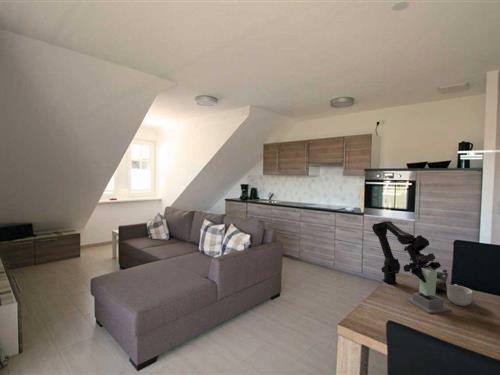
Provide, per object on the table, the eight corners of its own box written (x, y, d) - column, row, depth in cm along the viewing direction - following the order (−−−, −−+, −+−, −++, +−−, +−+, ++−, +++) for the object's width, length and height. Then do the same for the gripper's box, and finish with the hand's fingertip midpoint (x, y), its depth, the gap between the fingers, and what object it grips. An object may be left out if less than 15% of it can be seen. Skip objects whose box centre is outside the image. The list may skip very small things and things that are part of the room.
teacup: (472, 310, 136) (473, 295, 135) (445, 303, 142) (446, 289, 141) (470, 299, 147) (471, 286, 146) (446, 294, 153) (447, 280, 153)
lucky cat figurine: (415, 283, 167) (420, 262, 170) (432, 291, 167) (437, 270, 170) (433, 287, 152) (438, 264, 155) (452, 295, 152) (457, 272, 155)
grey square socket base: (406, 300, 145) (406, 291, 145) (426, 297, 149) (426, 288, 148) (429, 313, 132) (429, 304, 132) (450, 310, 135) (451, 301, 135)
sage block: (419, 291, 142) (421, 267, 141) (427, 290, 142) (429, 267, 141) (426, 295, 137) (428, 271, 136) (434, 295, 137) (437, 271, 136)
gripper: (408, 248, 140) (423, 277, 130) (439, 247, 143) (456, 275, 133) (397, 257, 149) (410, 285, 139) (426, 256, 151) (442, 283, 141)
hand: (430, 282), depth 138 cm, fingers closed on sage block, 5 cm apart
